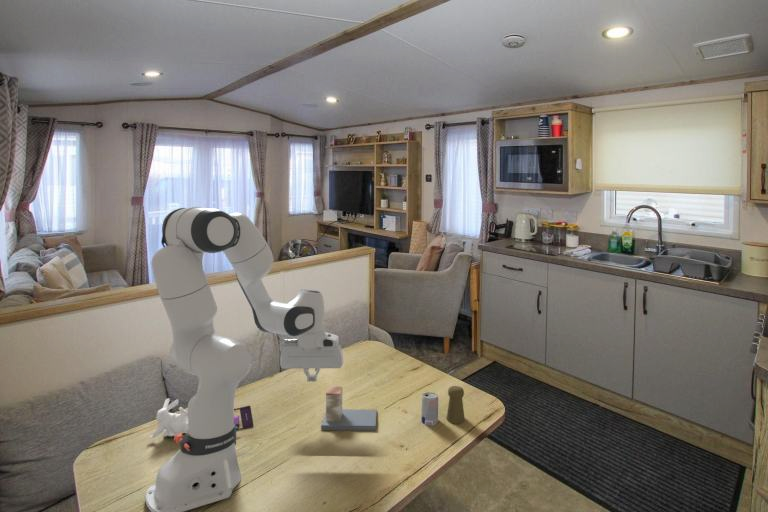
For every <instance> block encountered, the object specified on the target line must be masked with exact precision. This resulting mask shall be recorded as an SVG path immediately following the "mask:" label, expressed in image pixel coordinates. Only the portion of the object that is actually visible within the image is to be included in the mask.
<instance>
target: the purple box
mask: <svg viewBox="0 0 768 512" xmlns="http://www.w3.org/2000/svg"><path fill="white" fill-rule="evenodd" d="M238 410H239V414H240V415H236V414H234V424H235V425H236V431H240V430H245V429H249V428H254V421H253V414H252V408H251V405H246V406H242V407H237V408H234V412H235V411H238ZM240 420H241V421H240ZM240 422H241V425H242V426H241V428H240V426H239V423H240Z"/></svg>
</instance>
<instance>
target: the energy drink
mask: <svg viewBox="0 0 768 512" xmlns="http://www.w3.org/2000/svg"><path fill="white" fill-rule="evenodd" d="M421 423H422V424H423V425H426V426H428V427H429V426H431V427H432V426H436V425H437V424H438V423H439V395H438V394H437V393H435V392H428V391H427V392H424V393H422V396H421Z"/></svg>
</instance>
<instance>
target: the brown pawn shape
mask: <svg viewBox="0 0 768 512" xmlns="http://www.w3.org/2000/svg"><path fill="white" fill-rule="evenodd" d="M464 390H465V389H463V387H461V386H459V385H452V386H449V387H448V389H447V394H448V396H449V400H448V405H447V411H446V412H447V414H446V420H447V422H448V423H450V424H454V425H461V424H464V423H465V422H466V421H465V411H464V402H463V397H464V395H465V391H464Z"/></svg>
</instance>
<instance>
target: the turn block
mask: <svg viewBox="0 0 768 512" xmlns="http://www.w3.org/2000/svg"><path fill="white" fill-rule="evenodd" d="M342 409H343V386H328V388H327V389H326V393H325V413H326V421H340V420H341V417H342Z"/></svg>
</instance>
